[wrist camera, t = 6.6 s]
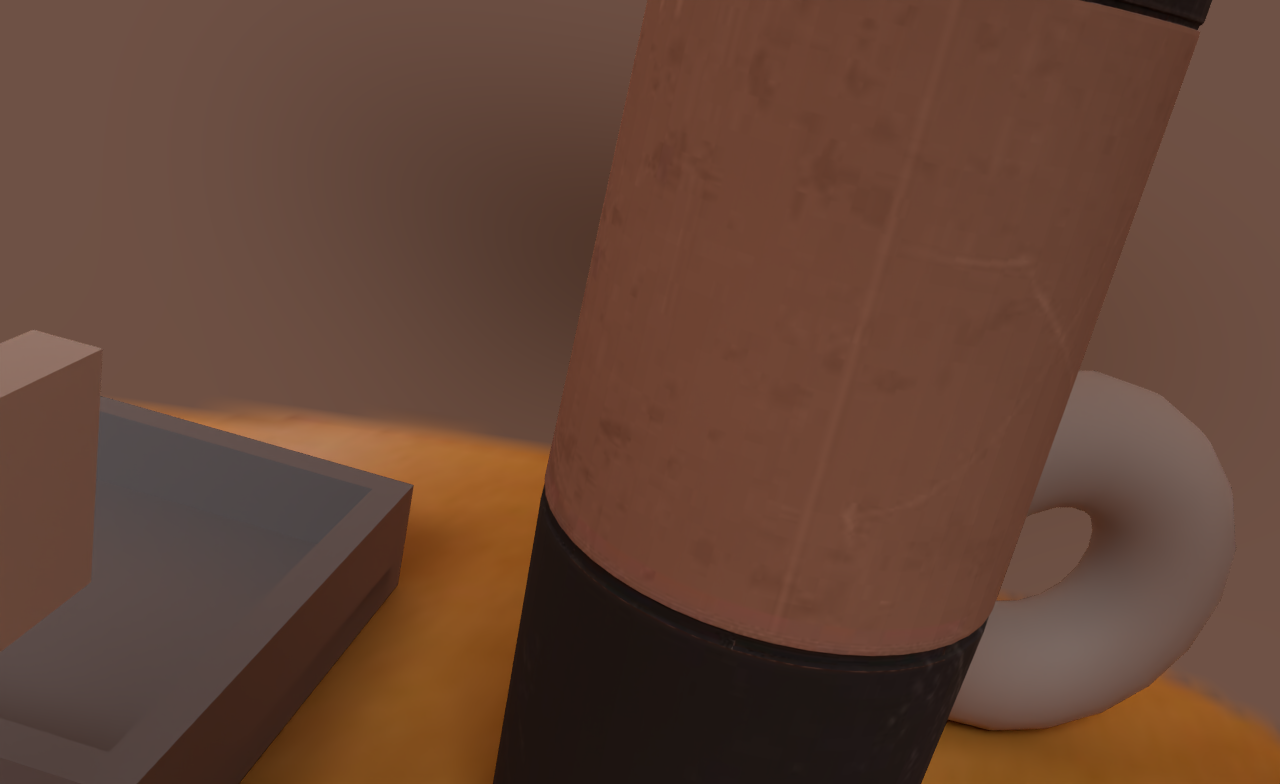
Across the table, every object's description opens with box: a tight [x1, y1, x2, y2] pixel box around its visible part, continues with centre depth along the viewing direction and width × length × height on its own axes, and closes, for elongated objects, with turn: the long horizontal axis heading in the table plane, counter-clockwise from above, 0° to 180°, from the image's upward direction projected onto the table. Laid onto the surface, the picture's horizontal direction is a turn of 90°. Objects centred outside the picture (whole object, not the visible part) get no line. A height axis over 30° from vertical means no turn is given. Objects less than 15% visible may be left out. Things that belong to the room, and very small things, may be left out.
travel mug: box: [493, 0, 1212, 784], centre depth 19 cm, size 8×8×20 cm
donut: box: [948, 371, 1236, 730], centre depth 30 cm, size 10×4×10 cm, turn 97°
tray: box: [0, 396, 414, 784], centre depth 26 cm, size 13×13×3 cm
